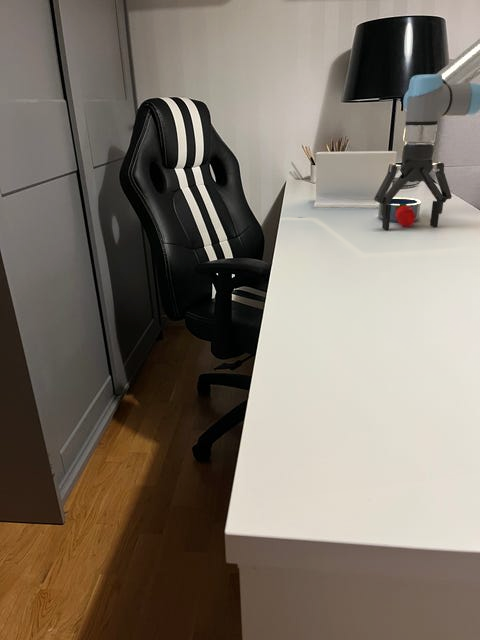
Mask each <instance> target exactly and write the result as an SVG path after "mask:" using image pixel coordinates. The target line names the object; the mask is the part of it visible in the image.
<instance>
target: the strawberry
mask: <svg viewBox="0 0 480 640" xmlns="http://www.w3.org/2000/svg"><path fill="white" fill-rule="evenodd" d="M396 219H397V221H398V222H397V224H399V225H400V226H401V227H405V228H407V227H410V226H412V225H414V223H415V221H416V220H415V214H414V212H413V210H412V208H411V207H409V206H407V205H406V204H400V205H399V206H397V208H396Z"/></svg>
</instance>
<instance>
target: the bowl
mask: <svg viewBox="0 0 480 640" xmlns="http://www.w3.org/2000/svg"><path fill="white" fill-rule="evenodd" d="M388 204H390V205H391V213H390V222H391V223H398V221H397V219H396V208H397V206H399V205H400V204H406V205H407V206H409V207H411V208H412V210H413V212H414V214H415V221H416V220H418V219H420V213H421V212H420V211H421V201H420V200H419V199H415V198H409V197H393V199H392V200H391V201H390V202H389V203H388ZM380 211H381V203H379V208H378V216H377V217H378V218H379V219H381V220H383V217H382V216H381V215H380Z"/></svg>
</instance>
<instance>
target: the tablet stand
mask: <svg viewBox="0 0 480 640" xmlns="http://www.w3.org/2000/svg"><path fill="white" fill-rule="evenodd" d="M397 155H398V153H397V151H395V150H380V151H379V150H376V151H375V150H372V151H371V150H370V151H364V150H363V151H362V150H361V151H317V152H316V153H315V200H314V202H313V207H314V208H345V209H346V208H348V209H349V208H350V209H352V208H353V209H354V208H356V209H357V208H358V209H361V208H362V209H379V202H376V201H375V200H374V198H375V196H376V194H377V192H378V190H379V188H380V186H381V185H382V183H383V181H384V179H385V177H386V175H387V173H388V168H389V165H390V164H394V165H396V163H397V157H398V156H397ZM393 181H394V180H393ZM393 181H392V183H391V185H390V187H389V189H388V191H389V190H390V188H391V187H392V186H393ZM388 191H387V192H388Z"/></svg>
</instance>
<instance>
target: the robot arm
mask: <svg viewBox="0 0 480 640" xmlns="http://www.w3.org/2000/svg"><path fill="white" fill-rule="evenodd" d="M479 76H480V38H479V39H477V40H476V41H475V42H474V43H472V44H471V45H470V46H469V47H468V48H467V49H465V50H464V51H463V52H461V53H460V54H459V55H458V56H457V57H455V58H454V59H453V60H452V61H450V62H449V63H448V64H446V65H445V66H444V67H443V68H442V69H441V70H439V71H438V72H437V73H432V74H430V73H429V74H427V73H426V74H416V75H413V76H412V77H411V78H410V80H409V84H408V90H406V92H405V94H404V96H403V101H402V102H403V103H402V104H403V108H404V110H405V124H404V130H403V131H404V133H403V142H404V144H403V145H402V152H401V163H400V164H395V165H394V164H390V165H389V168H388V173H387V175H386V177H385V179H384V181H383V183H382V185H381V186H380V188H379V190H378V192H377V194H376V196H375V198H374V200H375V201H376V202H379V203H381V211H380V215H381V216H382V217H383V219H382V225H381V226H382V228H381V229H383V230H385V231H389V230H390V213H391V205H390V204H388V203H389V202H390V201H391V200H392V199H393V198H395V197H396V195H397V194H398V193H399V192H400V191H401V189H403V187H404V186H405V185H406V184H407V183H408V182H409V183H416V182H419V183H420V182H421V183H422V182H423V183H424V184H425V185H426V187H427V188H428V190H429V192H430V193H431V194H432V196H433V197H434V199H435V200H432V205H431V215H430V219H429V220H430V221H429V226H430V227H433V228H438V225H439V219H440V215H442V213H443V208H444V203H446V202H447V200H451V199H452V197H453V196H452V192H451V190H450V187H449V183H448V180H447V177H446V174H445V163H444V162H440V161H436V162H435V163H434V162H433V159H434V153H435V144H434V142H435V141H436V138H437V131H438V130H437V129H438V122H439V121H438V120H439V118H441V117H443V118H444V117H464V118H465V117H467V116H474V115H476V114H477V113H478V112H479V111H480V84H479V83H475V82H473V81H474V79H476V78H477V77H479ZM432 171H433V172H434V174H435V177H436V180H437V183H438V186H437V184H436V183H435V182H434V178H432V176H431V174H430V173H431V172H432ZM399 172H400V173H401V174H400V175H399V176H398V178H397V179H396V181H395V183H393V182H392V181H394V179H395V177H396V175H397V174H398V173H399ZM391 183H392V187H391V188H390V190H389V191H388V189H389V187H390V185H391ZM438 187H439V188H438ZM387 191H388V192H387Z"/></svg>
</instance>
